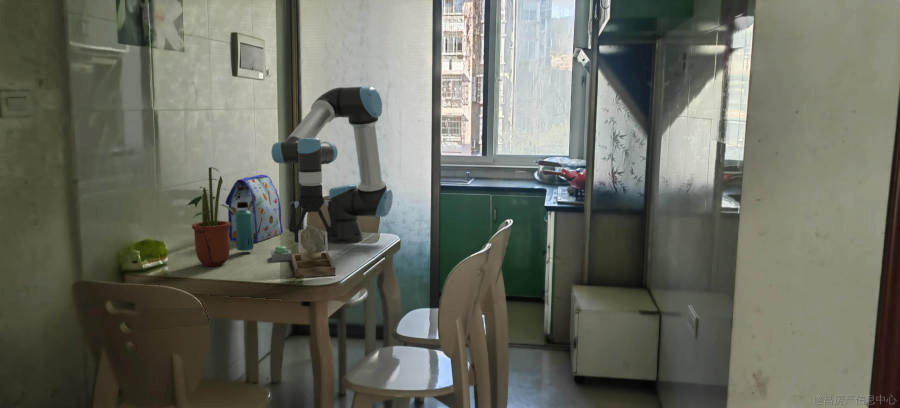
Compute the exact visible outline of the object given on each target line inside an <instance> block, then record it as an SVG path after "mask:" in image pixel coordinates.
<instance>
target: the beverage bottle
mask: <svg viewBox="0 0 900 408" xmlns="http://www.w3.org/2000/svg"><path fill="white" fill-rule="evenodd" d="M247 207H248V202H238V203H237V208H247ZM251 214H252V213H251V212H250V211H249V210H239V211H237V212H236V213H235V222H236V240H237V241H236V242H235V243H236V244H235V245H236V249H237V251H244V252H245V251H251V250H254V246H255V245H254V243H255V242H253V241H254V240H253V230H252V224H253V223H252V215H251Z"/></svg>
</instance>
